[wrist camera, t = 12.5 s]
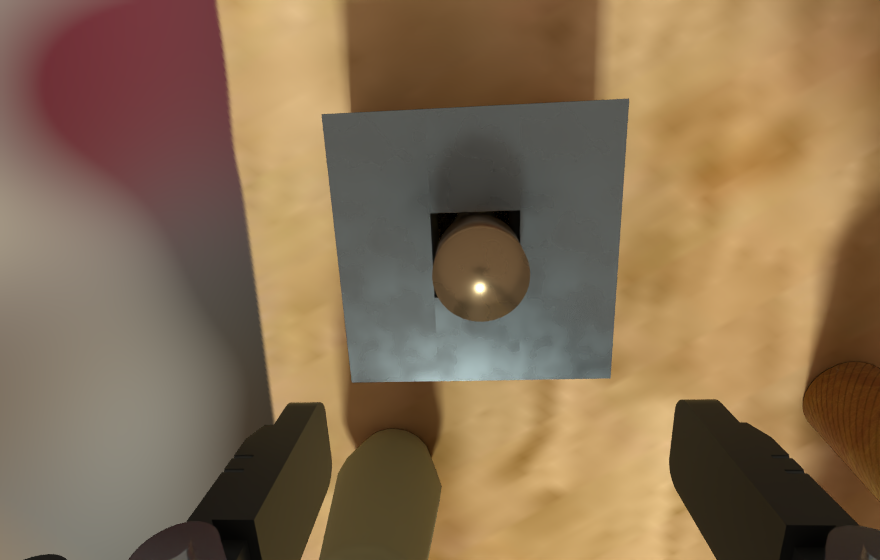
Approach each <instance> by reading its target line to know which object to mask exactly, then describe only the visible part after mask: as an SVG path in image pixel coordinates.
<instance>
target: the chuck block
mask: <svg viewBox="0 0 880 560" xmlns="http://www.w3.org/2000/svg"><path fill="white" fill-rule="evenodd" d="M628 108H629V99H614V100H594V101H574V102H555V103H535V104H515V105H496V106H476V107H456V108H436V109H417V110H397V111H377V112H358V113H338V114H322V122H323V131H324V140H325V149H326V158H327V167H328V176H329V185H330V193H331V202H332V211H333V220H334V229H335V238H336V247H337V256H338V265H339V273H340V282H341V291H342V300H343V309H344V318H345V327H346V336H347V345H348V353H349V362H350V371H351V380H352V383H353V382H414V381H475V380H536V379H597V378H610V376H611V361H612V346H613V331H614V316H615V301H616V287H617V272H618V257H619V242H620V227H621V212H622V198H623V183H624V168H625V153H626V138H627V123H628ZM483 211H509V227H510V228H511V229H512V230H513V232H514V233H515V234H516V236H517V238H518V240H519V242H520V244H521V246H522V248H523V251H524V253H525V255H526V257H527V259H528V262H529V267H530V282H529V287H528V290H527V292H526V294H525V296H524V298H523V300H522V301H521V302H520V304H519V305H518V306H517V307H516V308H515V309H514V310H513V311H511V312H510V313H508V314H507V315H505V316H503V317H501V318H498V319H495V320H491V321H485V322H476V321H469V320H466V319H463V318H460V317H458V316H456V315H455V314H453V313H452V312H450V311H449V310H448V309H447V308H446V307H445V306H444V305H443V304H442V303H441V301H440V300H439V298H438V297H437V295H436V292H435V290H434V286H433V281H432V270H433V264H434V260H435V256H436V252H437V247H438V244H439V231H438V213H457V212H483Z"/></svg>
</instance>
